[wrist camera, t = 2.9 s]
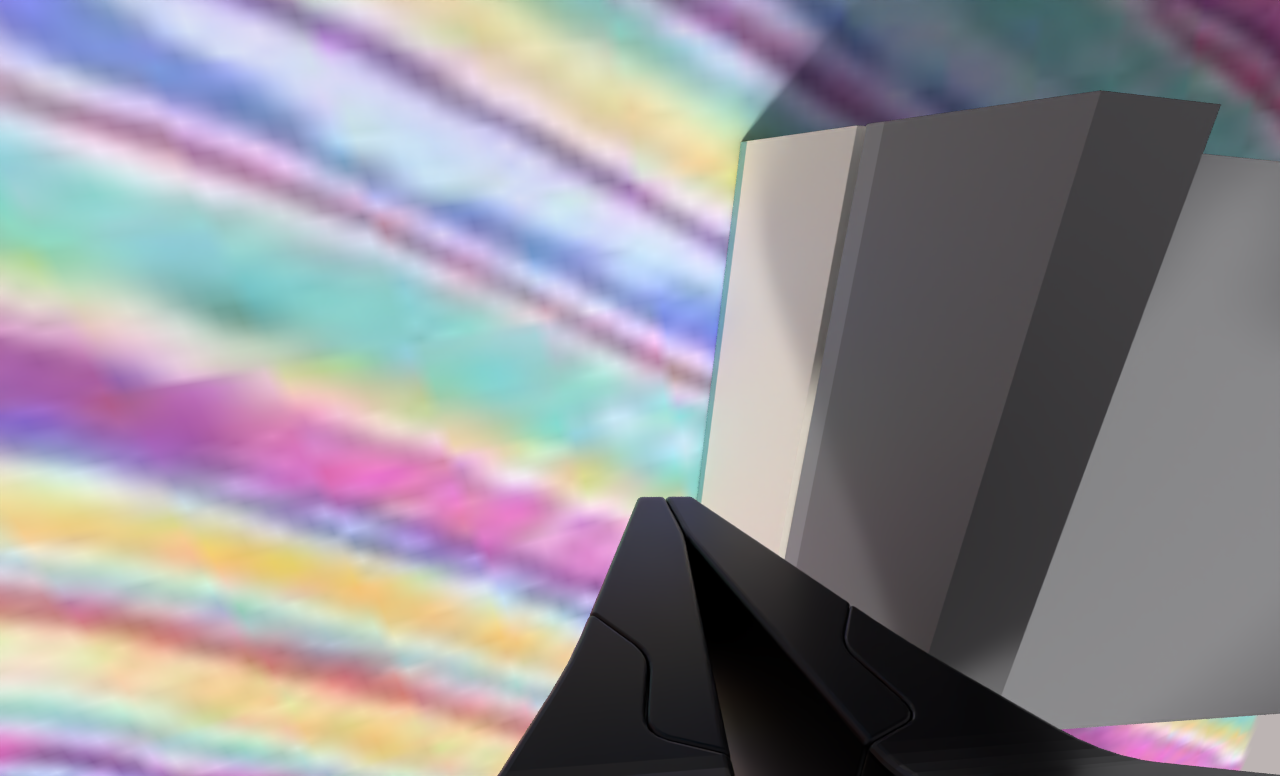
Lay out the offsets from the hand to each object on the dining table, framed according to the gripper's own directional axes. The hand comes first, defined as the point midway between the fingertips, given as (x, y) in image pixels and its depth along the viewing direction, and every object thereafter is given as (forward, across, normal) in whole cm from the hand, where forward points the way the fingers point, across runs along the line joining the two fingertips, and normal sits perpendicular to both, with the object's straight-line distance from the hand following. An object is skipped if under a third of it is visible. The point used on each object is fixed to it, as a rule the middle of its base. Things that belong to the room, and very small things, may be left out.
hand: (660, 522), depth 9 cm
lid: (+1, -10, 0) cm, 10 cm away
